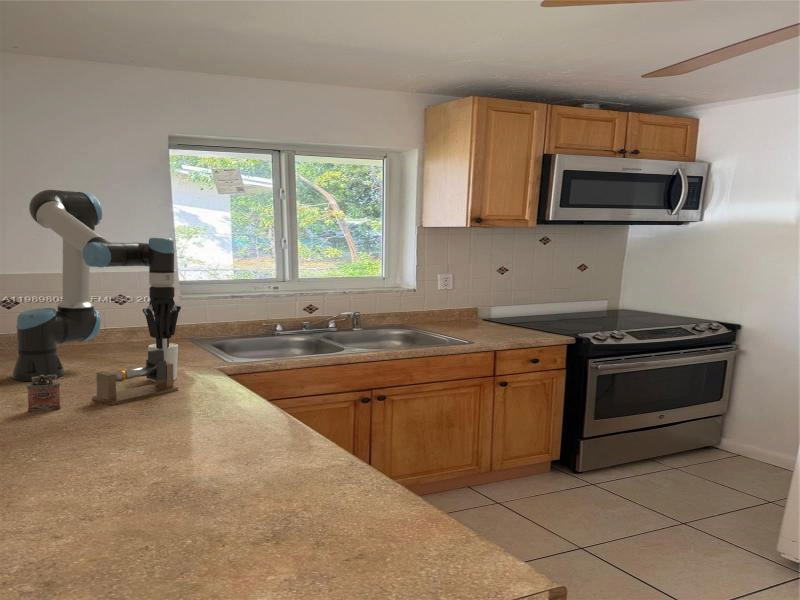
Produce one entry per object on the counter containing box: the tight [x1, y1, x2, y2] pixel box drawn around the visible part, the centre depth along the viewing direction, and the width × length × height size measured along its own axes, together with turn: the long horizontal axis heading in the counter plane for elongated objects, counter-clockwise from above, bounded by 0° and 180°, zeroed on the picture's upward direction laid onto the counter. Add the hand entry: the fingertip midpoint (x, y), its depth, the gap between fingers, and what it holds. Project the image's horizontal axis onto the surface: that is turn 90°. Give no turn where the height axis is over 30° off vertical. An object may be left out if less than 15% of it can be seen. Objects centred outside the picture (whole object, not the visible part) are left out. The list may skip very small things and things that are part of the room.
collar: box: [145, 350, 166, 381], centre depth 195 cm, size 6×3×9 cm, turn 57°
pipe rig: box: [91, 362, 179, 406], centre depth 189 cm, size 10×23×9 cm, turn 147°
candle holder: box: [147, 342, 179, 382], centre depth 211 cm, size 10×10×12 cm
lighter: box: [26, 375, 62, 413], centre depth 171 cm, size 8×3×10 cm, turn 117°
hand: (162, 358), depth 197 cm, fingers closed
